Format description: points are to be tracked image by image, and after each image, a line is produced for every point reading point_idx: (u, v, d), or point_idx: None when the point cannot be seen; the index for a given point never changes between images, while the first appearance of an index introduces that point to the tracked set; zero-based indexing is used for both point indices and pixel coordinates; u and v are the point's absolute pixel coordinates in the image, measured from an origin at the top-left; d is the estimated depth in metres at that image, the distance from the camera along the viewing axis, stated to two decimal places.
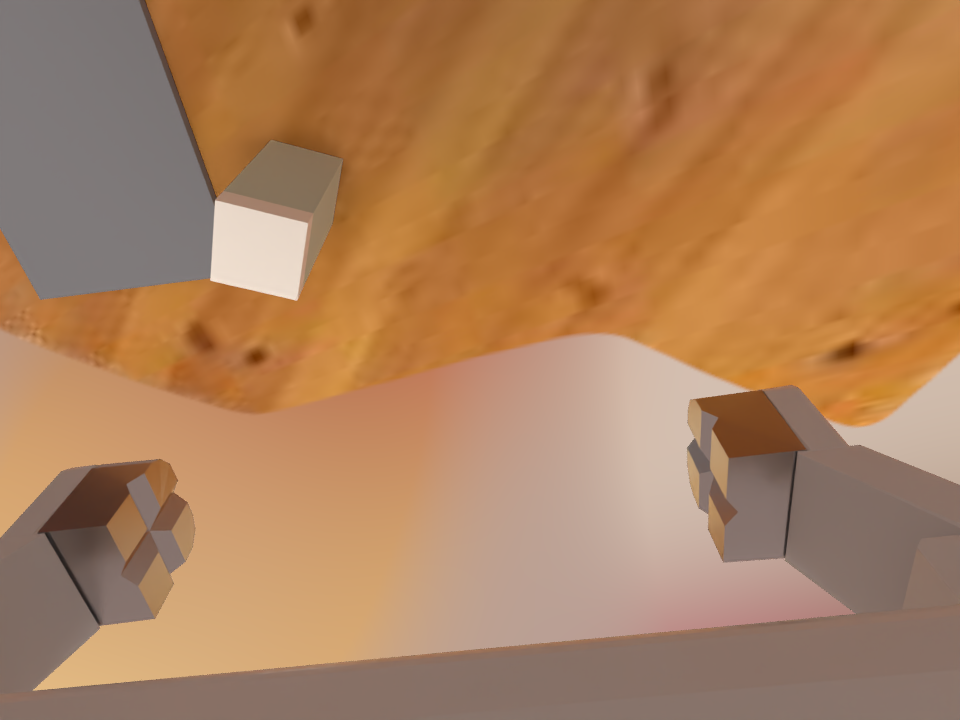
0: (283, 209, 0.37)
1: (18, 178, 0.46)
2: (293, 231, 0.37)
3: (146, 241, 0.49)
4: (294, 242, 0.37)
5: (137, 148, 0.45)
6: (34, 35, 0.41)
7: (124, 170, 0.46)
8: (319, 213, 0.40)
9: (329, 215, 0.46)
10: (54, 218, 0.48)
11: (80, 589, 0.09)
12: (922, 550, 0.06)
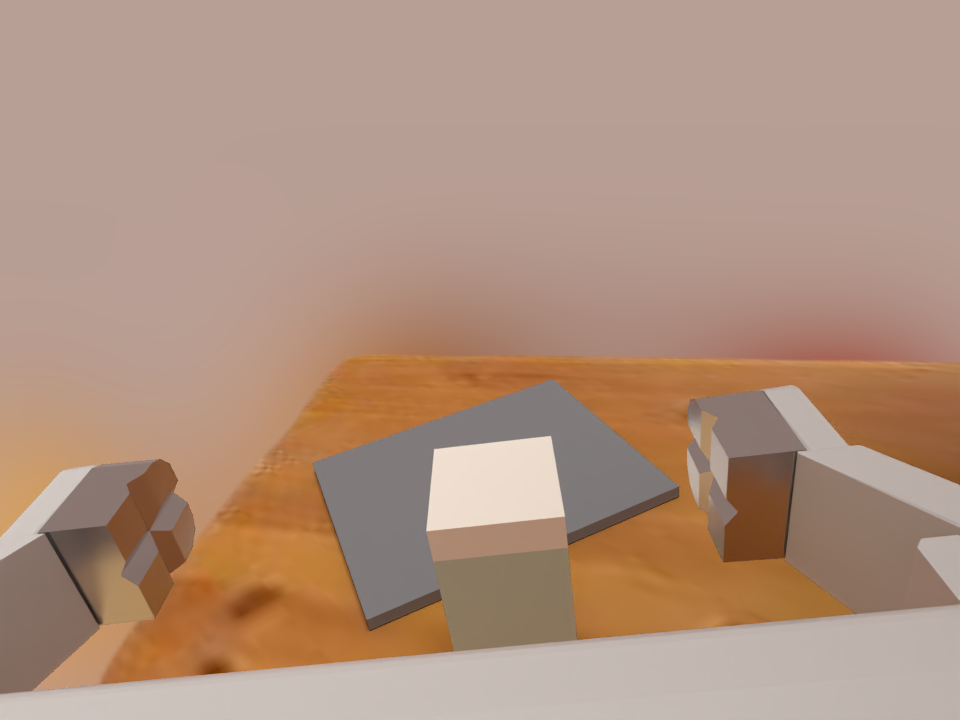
0: None
1: (444, 442, 0.48)
2: (542, 505, 0.24)
3: (398, 527, 0.41)
4: (526, 509, 0.24)
5: None
6: (583, 441, 0.46)
7: None
8: (546, 598, 0.25)
9: None
10: (408, 464, 0.46)
11: (80, 589, 0.09)
12: (922, 550, 0.06)
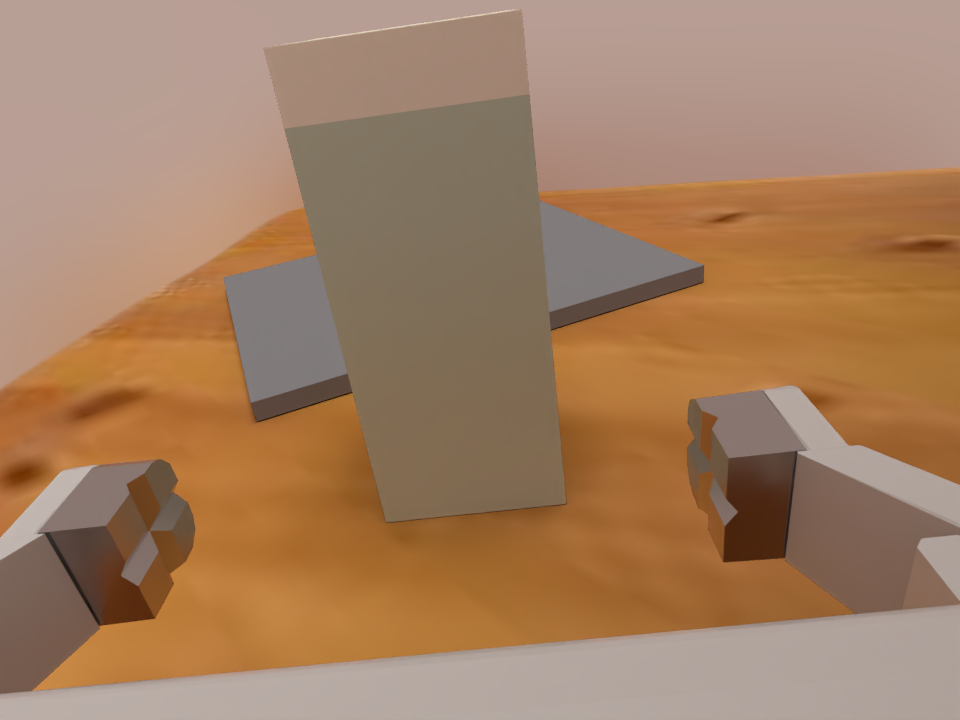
0: None
1: None
2: None
3: (318, 320, 0.30)
4: (452, 19, 0.13)
5: None
6: (575, 240, 0.35)
7: None
8: (494, 224, 0.14)
9: (432, 435, 0.17)
10: None
11: (80, 589, 0.09)
12: (922, 550, 0.06)
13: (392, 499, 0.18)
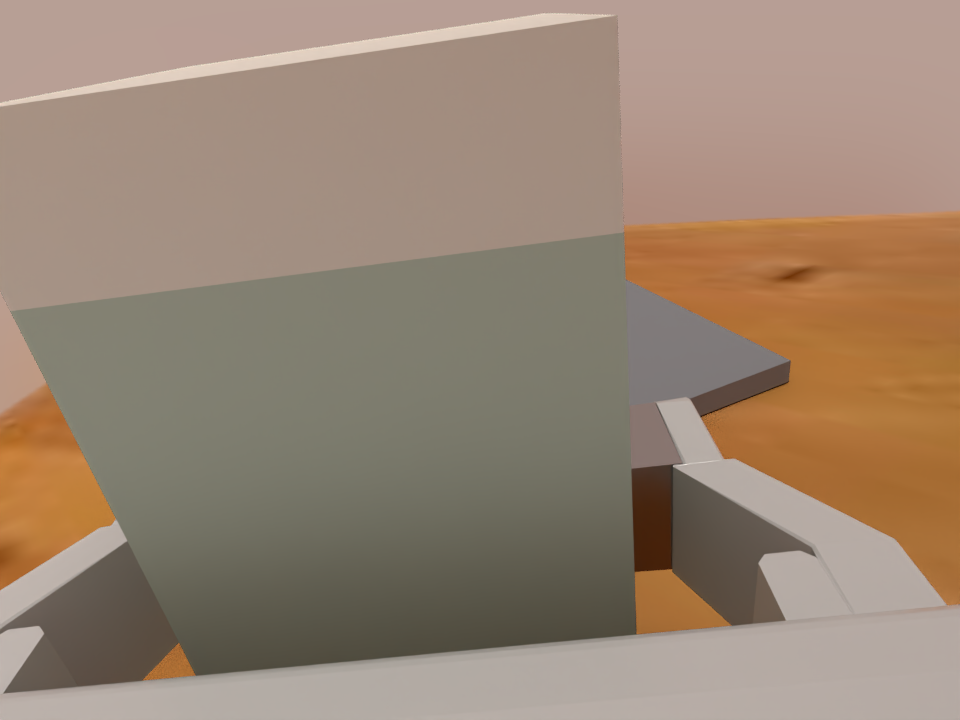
0: None
1: None
2: (506, 27, 0.05)
3: None
4: (425, 41, 0.05)
5: None
6: None
7: None
8: (526, 499, 0.06)
9: None
10: None
11: None
12: (763, 565, 0.06)
13: None
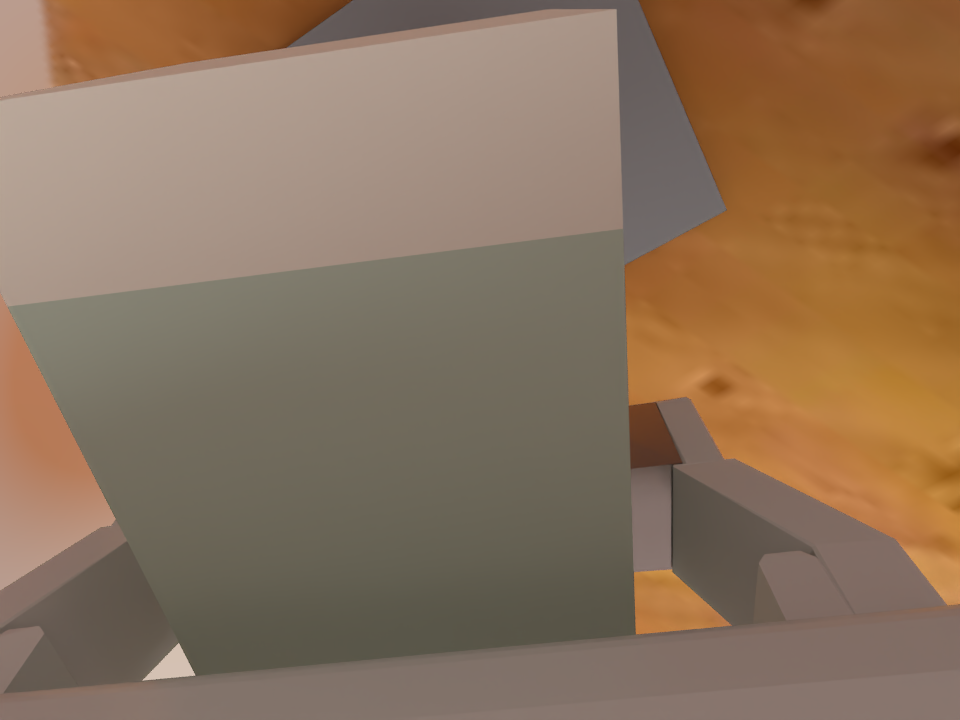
0: None
1: None
2: (504, 22, 0.05)
3: None
4: (424, 36, 0.05)
5: None
6: None
7: None
8: (524, 497, 0.06)
9: None
10: None
11: None
12: (763, 565, 0.06)
13: None
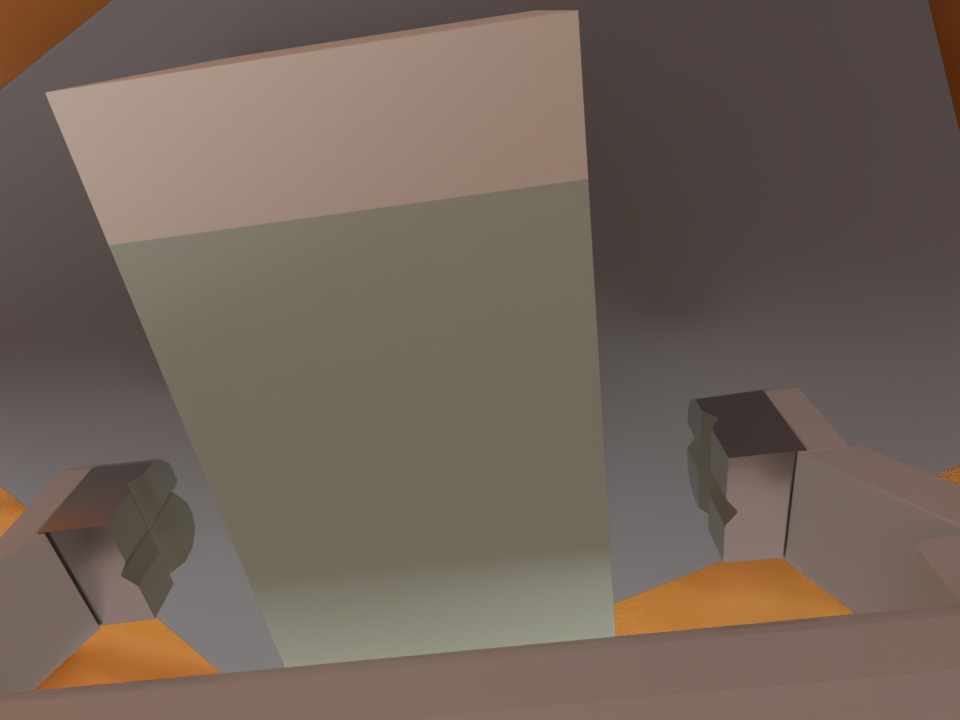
0: None
1: None
2: (496, 21, 0.07)
3: None
4: (434, 31, 0.06)
5: None
6: (821, 206, 0.12)
7: None
8: (515, 404, 0.08)
9: None
10: None
11: (80, 589, 0.09)
12: (922, 550, 0.06)
13: None
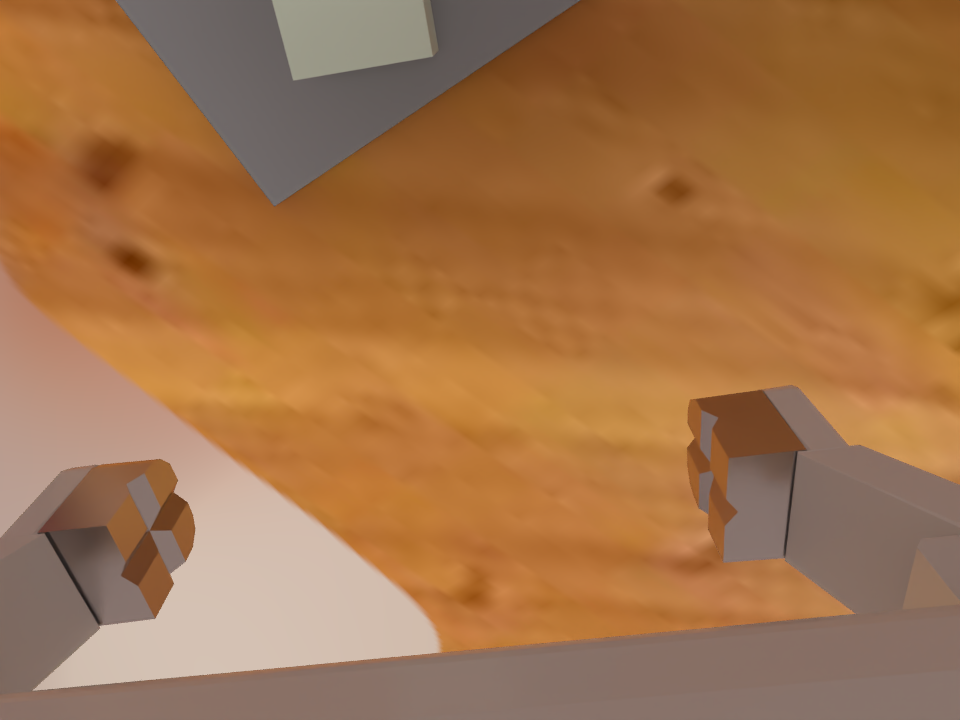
0: None
1: None
2: None
3: (248, 39, 0.27)
4: None
5: None
6: None
7: None
8: None
9: None
10: None
11: (80, 589, 0.09)
12: (922, 550, 0.06)
13: (296, 54, 0.23)
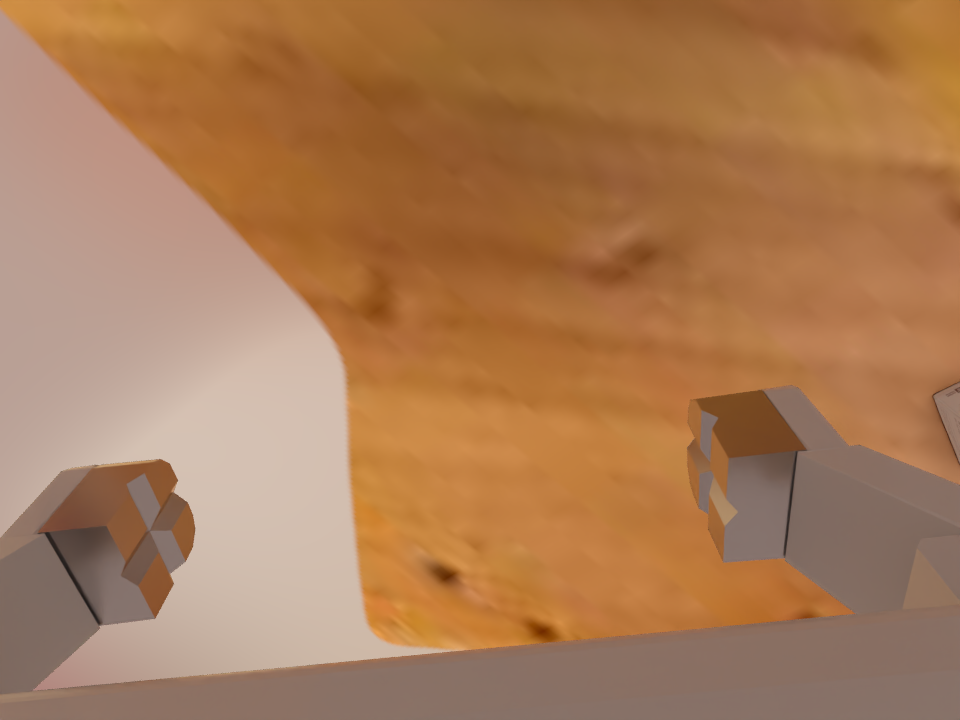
0: None
1: None
2: None
3: None
4: None
5: None
6: None
7: None
8: None
9: None
10: None
11: (80, 589, 0.09)
12: (922, 550, 0.06)
13: None
